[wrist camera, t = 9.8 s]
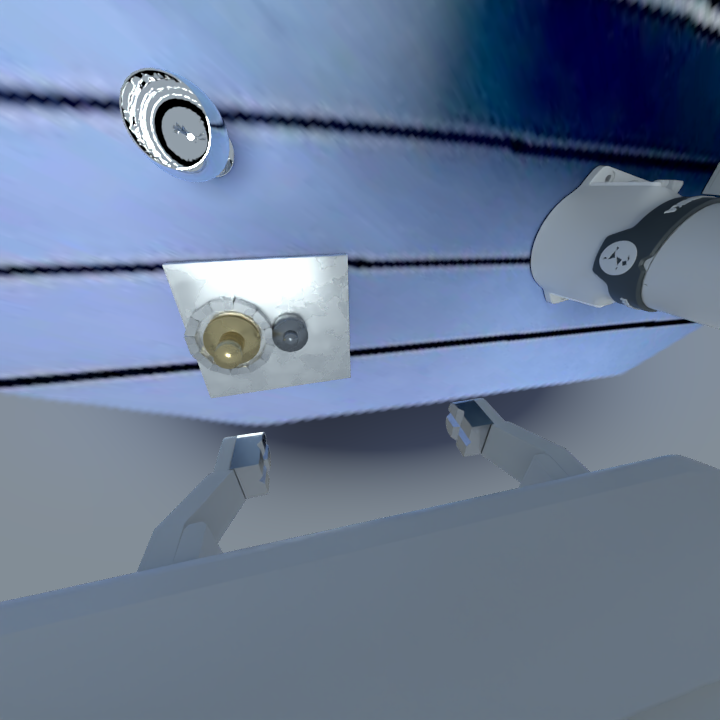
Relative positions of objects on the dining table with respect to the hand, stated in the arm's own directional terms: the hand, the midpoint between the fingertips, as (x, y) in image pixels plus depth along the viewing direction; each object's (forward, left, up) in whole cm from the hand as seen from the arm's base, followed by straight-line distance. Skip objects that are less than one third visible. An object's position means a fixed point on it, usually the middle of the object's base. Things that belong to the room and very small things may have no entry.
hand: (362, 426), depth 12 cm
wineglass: (+8, -12, -27) cm, 31 cm away
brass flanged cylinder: (+10, +7, -26) cm, 28 cm away
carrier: (+5, +7, -27) cm, 28 cm away
